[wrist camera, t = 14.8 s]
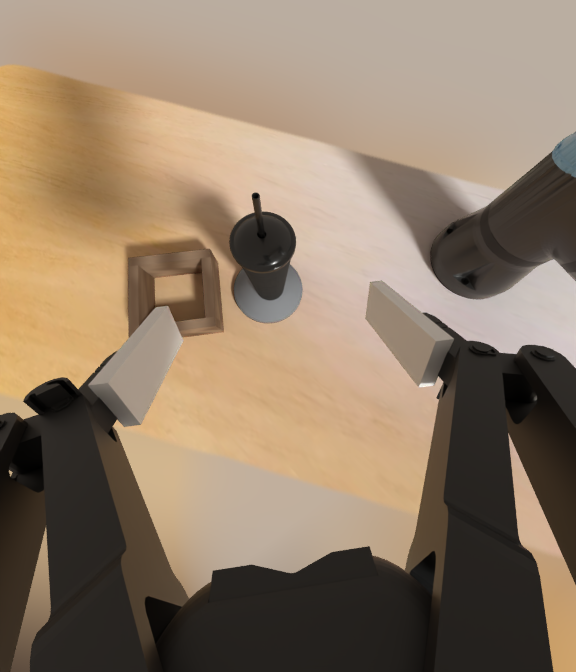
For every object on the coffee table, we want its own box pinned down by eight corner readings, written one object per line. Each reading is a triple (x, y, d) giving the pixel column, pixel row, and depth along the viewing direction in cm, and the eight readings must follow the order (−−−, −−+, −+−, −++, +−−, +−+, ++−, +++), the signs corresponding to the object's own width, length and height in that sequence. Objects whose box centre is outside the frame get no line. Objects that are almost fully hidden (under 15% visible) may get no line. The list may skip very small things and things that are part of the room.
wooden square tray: (218, 262, 40) (209, 248, 36) (223, 331, 38) (215, 326, 33) (145, 271, 40) (128, 257, 35) (147, 341, 37) (128, 337, 33)
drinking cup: (260, 316, 38) (235, 250, 18) (240, 279, 39) (196, 179, 19) (299, 296, 38) (316, 212, 19) (279, 260, 40) (274, 146, 20)
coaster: (296, 256, 41) (297, 253, 40) (306, 318, 39) (307, 317, 38) (232, 263, 40) (230, 261, 39) (238, 327, 38) (237, 326, 37)
